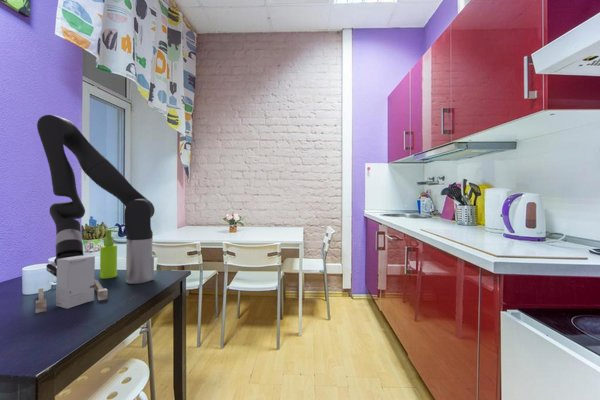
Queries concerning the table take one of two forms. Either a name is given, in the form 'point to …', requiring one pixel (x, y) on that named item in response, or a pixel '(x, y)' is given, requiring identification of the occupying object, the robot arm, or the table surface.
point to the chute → (42, 303)
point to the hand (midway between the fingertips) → (71, 287)
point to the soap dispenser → (108, 256)
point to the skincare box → (75, 281)
